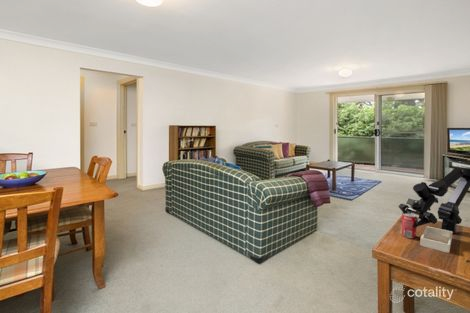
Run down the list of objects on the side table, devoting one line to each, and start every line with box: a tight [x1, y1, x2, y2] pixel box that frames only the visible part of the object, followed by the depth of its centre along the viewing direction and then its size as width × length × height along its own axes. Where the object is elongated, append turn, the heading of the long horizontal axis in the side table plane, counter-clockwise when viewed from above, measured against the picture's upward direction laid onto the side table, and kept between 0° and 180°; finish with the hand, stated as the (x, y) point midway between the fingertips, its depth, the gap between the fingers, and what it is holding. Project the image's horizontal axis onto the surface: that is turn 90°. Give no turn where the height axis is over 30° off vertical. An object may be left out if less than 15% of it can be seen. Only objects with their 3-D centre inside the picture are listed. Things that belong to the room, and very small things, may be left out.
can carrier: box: [419, 225, 453, 254], centre depth 129 cm, size 21×11×4 cm, turn 137°
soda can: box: [400, 213, 418, 239], centre depth 136 cm, size 7×7×12 cm
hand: (406, 224), depth 135 cm, fingers closed on soda can, 7 cm apart
